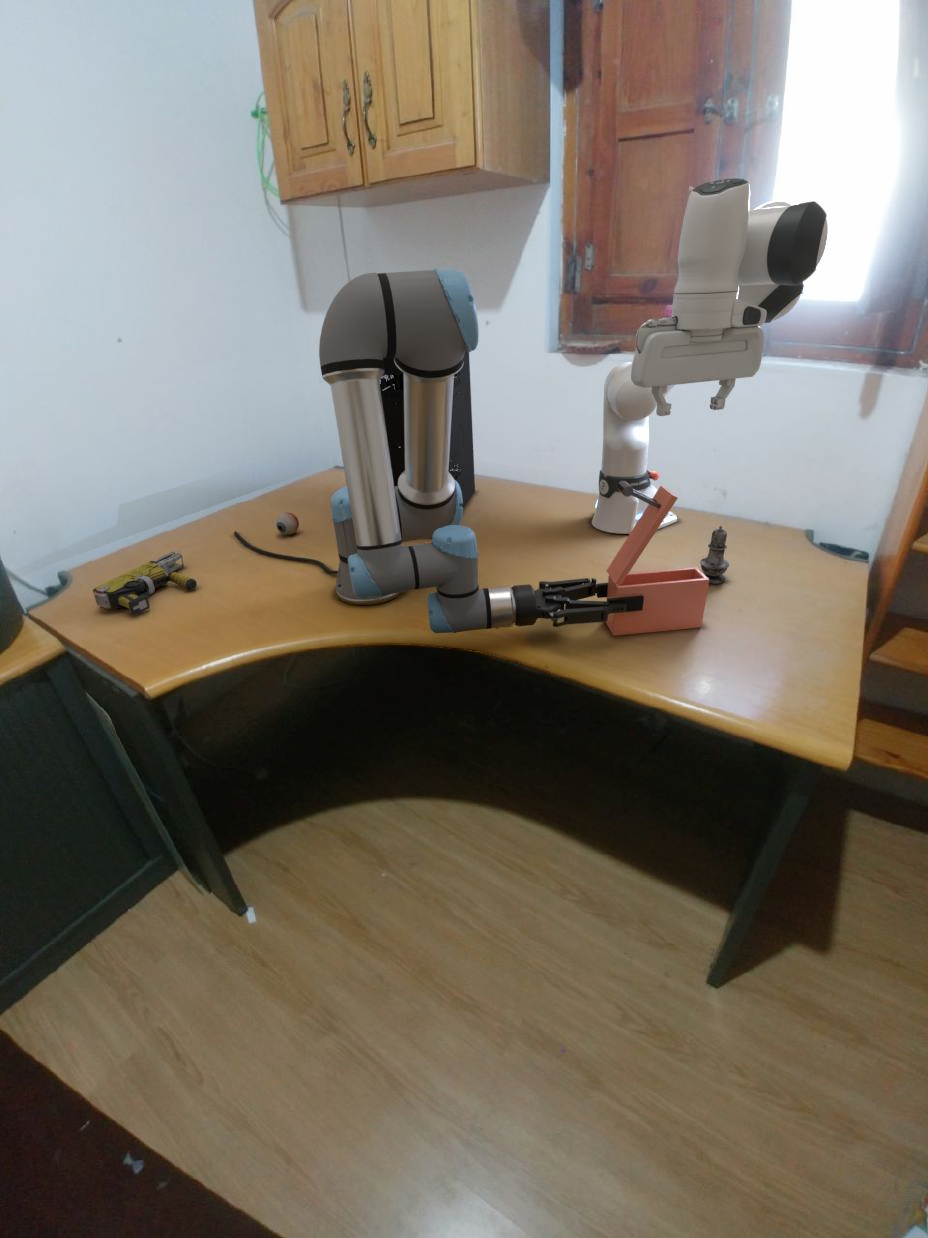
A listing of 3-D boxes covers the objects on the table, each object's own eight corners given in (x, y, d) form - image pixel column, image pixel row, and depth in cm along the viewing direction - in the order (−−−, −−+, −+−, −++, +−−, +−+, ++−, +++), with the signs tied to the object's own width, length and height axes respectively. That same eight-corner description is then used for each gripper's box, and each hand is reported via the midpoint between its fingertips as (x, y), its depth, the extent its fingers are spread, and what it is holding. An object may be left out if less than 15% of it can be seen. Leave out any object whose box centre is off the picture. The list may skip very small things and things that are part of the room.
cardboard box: (444, 537, 157) (431, 349, 135) (371, 534, 162) (346, 352, 139) (475, 491, 189) (468, 332, 166) (413, 489, 193) (398, 335, 171)
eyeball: (273, 537, 164) (268, 516, 161) (287, 528, 169) (282, 508, 166) (291, 539, 161) (286, 518, 158) (305, 530, 166) (301, 510, 163)
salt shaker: (728, 584, 127) (739, 531, 121) (699, 583, 128) (707, 530, 122) (724, 572, 132) (733, 520, 126) (695, 571, 133) (703, 519, 127)
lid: (665, 487, 104) (624, 467, 102) (678, 497, 100) (635, 476, 97) (611, 573, 111) (571, 555, 109) (620, 585, 107) (578, 568, 104)
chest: (689, 613, 118) (696, 566, 112) (701, 627, 113) (709, 579, 108) (604, 621, 117) (608, 574, 112) (613, 635, 112) (617, 587, 107)
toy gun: (220, 560, 144) (169, 549, 148) (142, 602, 124) (86, 589, 128) (223, 577, 146) (173, 566, 150) (147, 622, 126) (91, 608, 130)
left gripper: (505, 600, 120) (619, 590, 121) (521, 650, 104) (652, 638, 105) (504, 566, 116) (622, 556, 117) (521, 613, 100) (657, 600, 101)
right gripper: (649, 320, 84) (639, 422, 91) (777, 310, 88) (758, 409, 95) (627, 318, 89) (620, 415, 96) (749, 308, 93) (733, 402, 100)
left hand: (636, 595), depth 111 cm, fingers closed on chest, 5 cm apart
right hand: (690, 412), depth 95 cm, fingers open, 8 cm apart
